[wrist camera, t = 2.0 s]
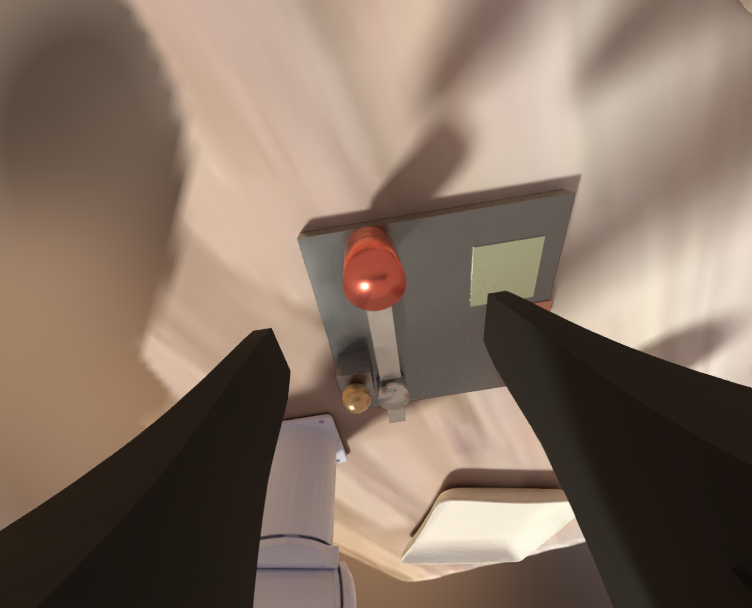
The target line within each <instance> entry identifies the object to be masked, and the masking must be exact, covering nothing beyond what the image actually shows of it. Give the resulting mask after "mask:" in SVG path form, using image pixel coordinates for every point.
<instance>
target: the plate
mask: <svg viewBox="0 0 752 608" xmlns="http://www.w3.org/2000/svg"><path fill="white" fill-rule="evenodd" d="M574 195H575V193H574V192H570V191H567V190H564V189H563V190H557V191H551V192H545V193H539V194H533V195H527V196H521V197H515V198H509V199H503V200H497V201H491V202H485V203H478V204H472V205H466V206H460V207H454V208H448V209H442V210H436V211H430V212H424V213H418V214H412V215H406V216H400V217H394V218H388V219H381V220H375V221H369V222H363V223H357V224H351V225H345V226H339V227H333V228H327V229H321V230H315V231H309V232H303V233H300V234H299V236H298V238H297V240H298V243H299V246H300V250H301V253H302V256H303V259H304V263H305V266H306V269H307V272H308V276H309V279H310V282H311V285H312V289H313V292H314V295H315V298H316V301H317V305H318V308H319V311H320V314H321V318H322V321H323V324H324V327H325V331H326V334H327V337H328V340H329V344H330V347H331V350H332V353H333V356H334V360H335V363H336V366H337V369H336V379H337V382H338V385H339V388H340V392H341V395H342V403H343V406H344V407H345V409H346V410H347V411H349V412H351V413H354V414H358V413H362V412H364V411H365V410H366V409H367V408H370V407H376V406H380V405H379V401H378V391H377V380H378V378H379V377H380V376H379V371H378V366H377V361H376V356H375V351H374V346H373V340H372V335H371V330H370V325H369V320H368V315H367V310H363V309H360V308H358V307H356V306H355V305H353V304H352V303H351V302H350V301H349V300H348V299H347V297H346V295H345V293H344V289H343V272H344V250H345V244H346V241H347V239H348V238H349V236H350V235H351V234H352V233H353V232H355V231H356V230H358V229H360V228H363V227H377V228H380V229H382V230H384V231H385V232H387V233H388V234H389V235H390V237H391V238H392V240H393V242H394V245H395V248H396V251H397V254H398V256H399V259H400V262H401V265H402V267H403V270H404V273H405V276H406V288H405V291H404V294H403V295H402V297H401V298H400V300H399V301H398V302H397V303H395V304H394V305H393V306H392V313H393V321H394V328H395V336H396V343H397V351H398V358H399V366H400V373H401V374H402V375H403V376H404V377H405V379H406V384H407V388H408V393H409V398H410V400H409V401H415V400H421V399H428V398H434V397H440V396H447V395H453V394H460V393H466V392H472V391H479V390H485V389H491V388H498V387H504V386H506V385H505V383H504V382H503V380H502V378H501V377H500V375H499V373H498V372H497V370H496V368H495V366H494V364H493V362H492V360H491V358H490V356H489V353H488V351H487V349H486V346H485V344H484V341H483V338H484V327H485V317H486V306H487V296H488V293H494V292H500V291H509V292H511V293H513V294H516V295H518V296H520V297H522V298H524V299H526V300H528V301H530V302H532V303H534V304H536V305H538V306H540V307H542V308H544V309H546V310H548V311H550V310H551V306H552V302H553V300H550V295H551V291H552V287H553V283H554V279H555V275H556V270H557V266H558V262H559V258H560V254H561V250H562V245H563V241H564V237H565V233H566V229H567V225H568V220H569V216H570V212H571V208H572V204H573V200H574Z"/></svg>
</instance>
